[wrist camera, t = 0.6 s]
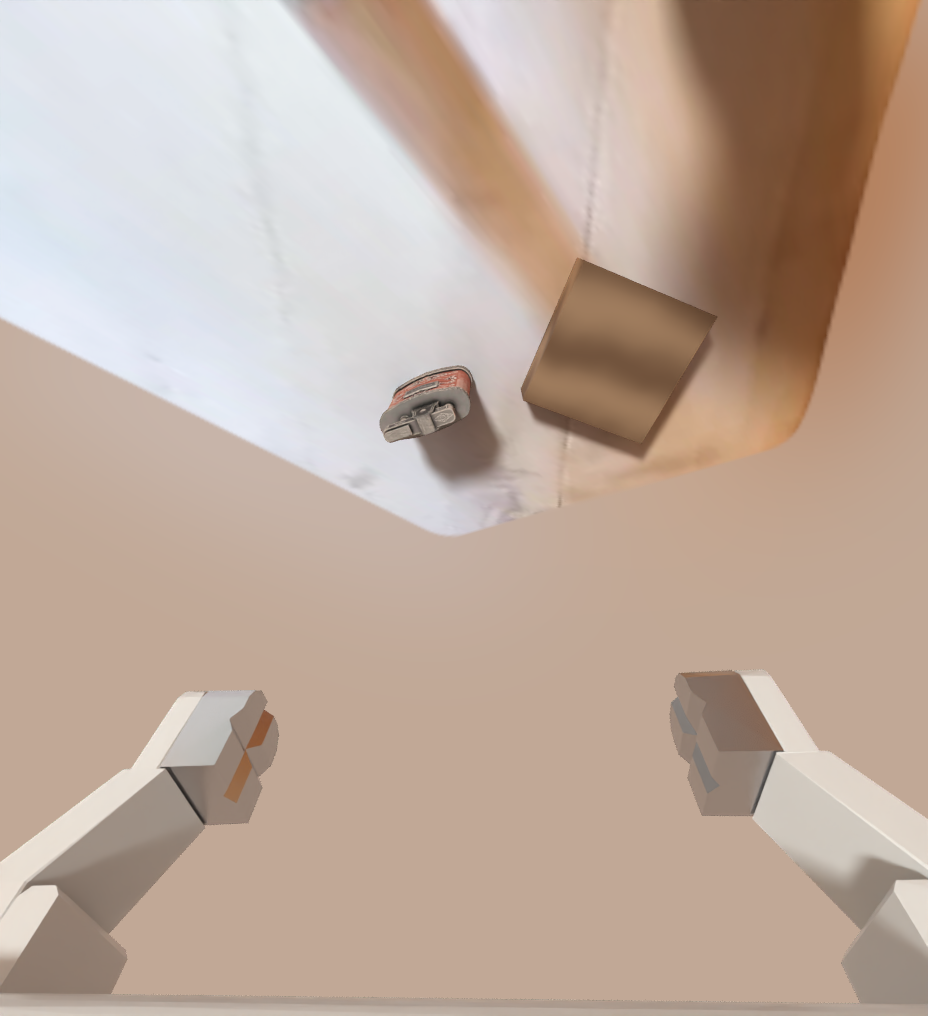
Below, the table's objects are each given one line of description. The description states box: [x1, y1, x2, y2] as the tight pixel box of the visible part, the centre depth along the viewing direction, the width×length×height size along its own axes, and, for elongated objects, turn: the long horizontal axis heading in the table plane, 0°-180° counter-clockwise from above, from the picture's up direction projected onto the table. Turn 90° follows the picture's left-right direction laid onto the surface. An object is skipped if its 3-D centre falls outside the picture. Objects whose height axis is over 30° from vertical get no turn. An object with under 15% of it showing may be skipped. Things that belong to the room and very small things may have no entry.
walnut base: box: [521, 258, 717, 444], centre depth 43 cm, size 12×12×4 cm
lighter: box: [380, 365, 473, 443], centre depth 43 cm, size 8×3×10 cm, turn 110°
